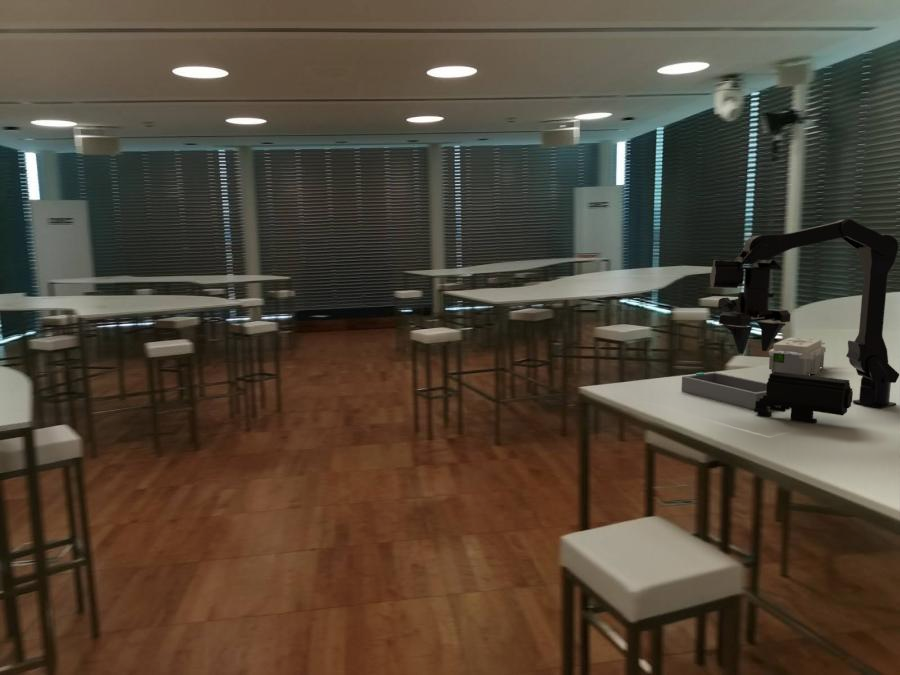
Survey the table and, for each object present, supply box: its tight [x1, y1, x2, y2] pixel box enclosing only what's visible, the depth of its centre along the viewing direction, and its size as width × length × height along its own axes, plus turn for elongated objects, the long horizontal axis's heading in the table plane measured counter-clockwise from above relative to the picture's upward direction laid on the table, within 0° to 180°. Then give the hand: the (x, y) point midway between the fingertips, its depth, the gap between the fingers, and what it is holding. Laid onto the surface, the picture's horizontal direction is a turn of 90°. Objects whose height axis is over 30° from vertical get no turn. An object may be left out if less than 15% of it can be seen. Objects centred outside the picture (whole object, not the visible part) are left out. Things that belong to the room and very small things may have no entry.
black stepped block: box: [753, 372, 854, 425], centre depth 137 cm, size 7×18×10 cm, turn 47°
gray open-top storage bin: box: [681, 372, 770, 411], centre depth 159 cm, size 12×23×4 cm, turn 26°
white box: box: [767, 336, 826, 376], centre depth 186 cm, size 12×28×10 cm, turn 137°
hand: (752, 352), depth 151 cm, fingers open, 8 cm apart
